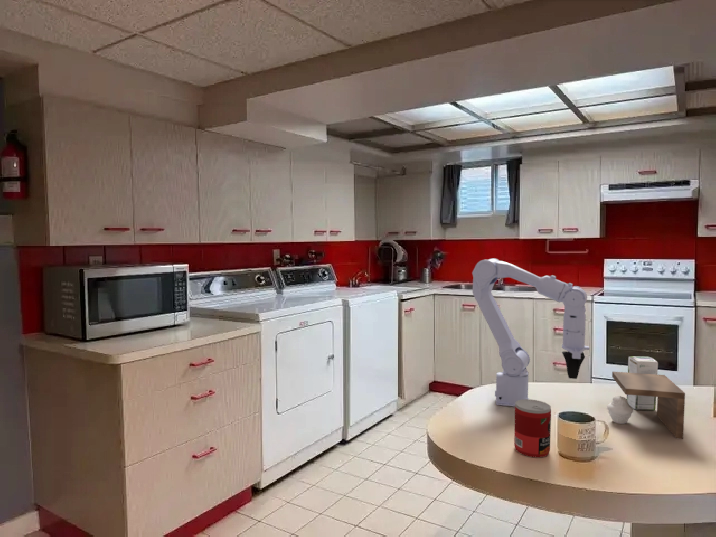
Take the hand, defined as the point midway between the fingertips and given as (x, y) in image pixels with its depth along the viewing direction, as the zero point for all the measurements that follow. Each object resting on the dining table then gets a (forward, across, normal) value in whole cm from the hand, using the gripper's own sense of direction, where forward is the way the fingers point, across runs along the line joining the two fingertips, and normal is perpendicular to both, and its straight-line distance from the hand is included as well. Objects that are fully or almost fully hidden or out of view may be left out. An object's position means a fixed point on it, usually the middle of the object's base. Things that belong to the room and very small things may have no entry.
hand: (572, 378), depth 139 cm
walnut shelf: (+10, -4, -18) cm, 20 cm away
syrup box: (+10, +10, -20) cm, 24 cm away
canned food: (+10, -30, +12) cm, 33 cm away
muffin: (+10, -4, -12) cm, 16 cm away
